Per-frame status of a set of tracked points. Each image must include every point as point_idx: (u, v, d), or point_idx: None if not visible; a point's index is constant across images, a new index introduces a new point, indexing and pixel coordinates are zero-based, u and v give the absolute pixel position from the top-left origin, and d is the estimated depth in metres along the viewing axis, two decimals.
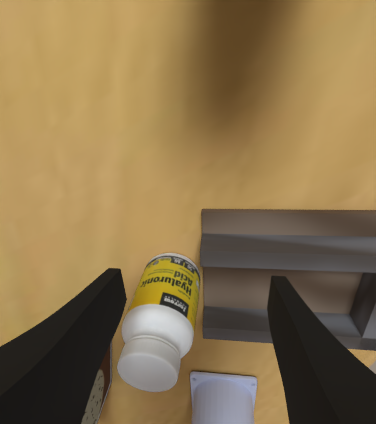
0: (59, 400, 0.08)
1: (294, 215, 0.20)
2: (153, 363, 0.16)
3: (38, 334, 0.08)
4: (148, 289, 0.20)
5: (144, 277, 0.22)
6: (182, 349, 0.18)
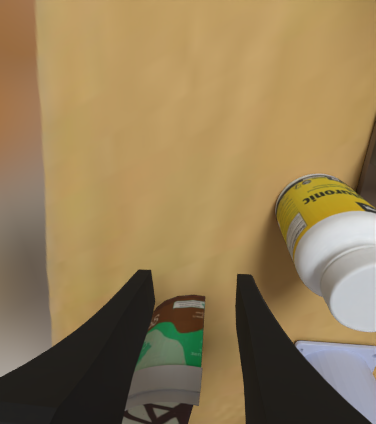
0: (105, 405, 0.08)
1: None
2: None
3: (82, 338, 0.08)
4: (328, 200, 0.14)
5: (300, 196, 0.16)
6: None
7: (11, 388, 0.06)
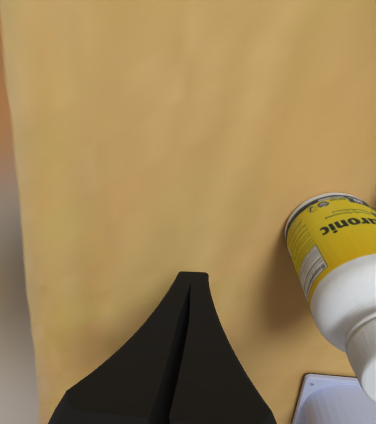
0: (169, 412, 0.08)
1: None
2: None
3: (144, 343, 0.08)
4: (353, 233, 0.12)
5: (316, 223, 0.14)
6: None
7: (91, 397, 0.06)
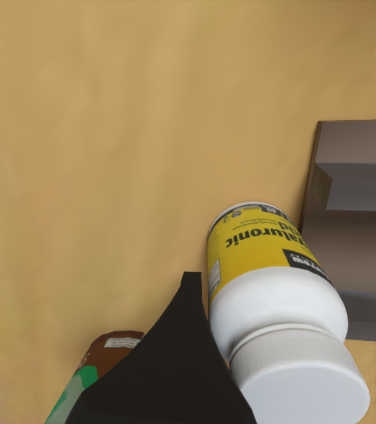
0: None
1: None
2: (327, 383, 0.07)
3: (156, 344, 0.08)
4: (250, 246, 0.11)
5: (225, 234, 0.13)
6: None
7: (107, 398, 0.06)
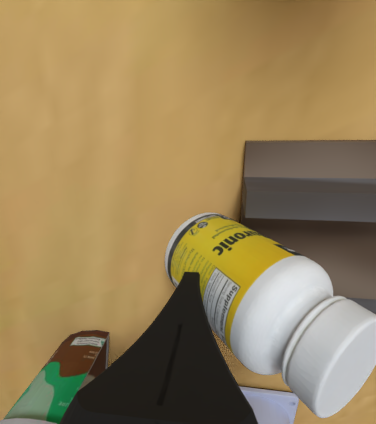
0: None
1: None
2: (373, 336, 0.09)
3: (153, 344, 0.08)
4: (248, 247, 0.12)
5: (206, 244, 0.13)
6: None
7: (102, 398, 0.06)
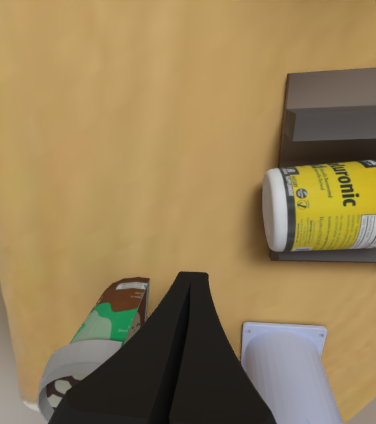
0: (169, 412, 0.08)
1: None
2: None
3: (144, 343, 0.08)
4: (367, 184, 0.14)
5: (331, 206, 0.14)
6: None
7: (91, 397, 0.06)
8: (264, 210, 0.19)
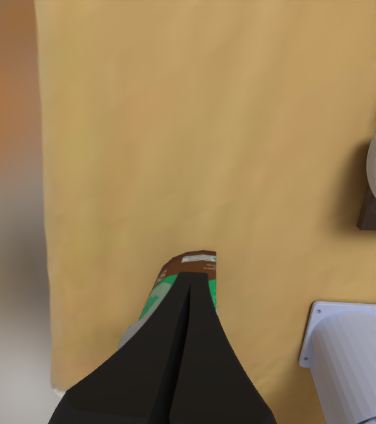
0: (169, 412, 0.08)
1: None
2: None
3: (144, 343, 0.08)
4: None
5: None
6: None
7: (91, 397, 0.06)
8: (374, 167, 0.17)
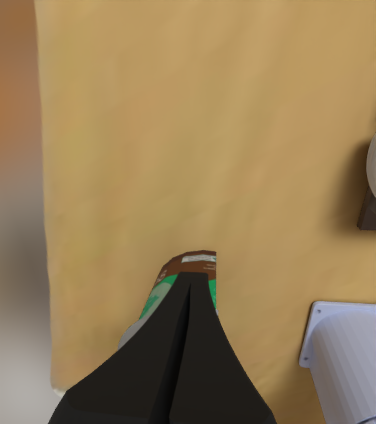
0: (169, 412, 0.08)
1: None
2: None
3: (144, 343, 0.08)
4: None
5: None
6: None
7: (91, 397, 0.06)
8: (374, 167, 0.17)
